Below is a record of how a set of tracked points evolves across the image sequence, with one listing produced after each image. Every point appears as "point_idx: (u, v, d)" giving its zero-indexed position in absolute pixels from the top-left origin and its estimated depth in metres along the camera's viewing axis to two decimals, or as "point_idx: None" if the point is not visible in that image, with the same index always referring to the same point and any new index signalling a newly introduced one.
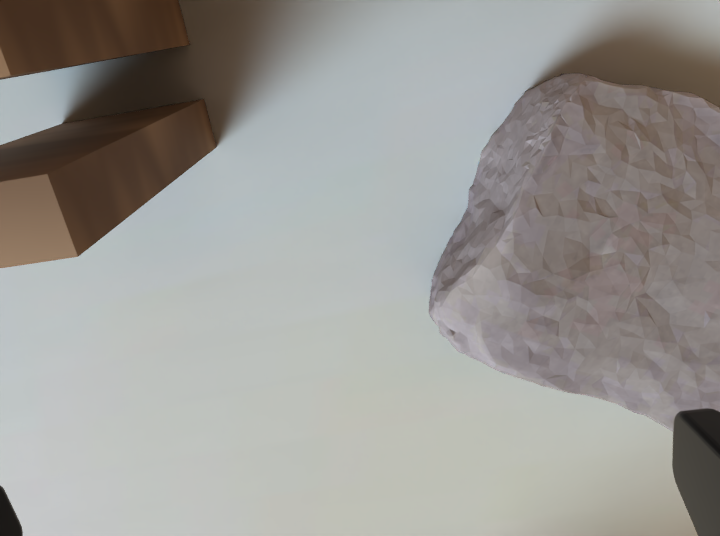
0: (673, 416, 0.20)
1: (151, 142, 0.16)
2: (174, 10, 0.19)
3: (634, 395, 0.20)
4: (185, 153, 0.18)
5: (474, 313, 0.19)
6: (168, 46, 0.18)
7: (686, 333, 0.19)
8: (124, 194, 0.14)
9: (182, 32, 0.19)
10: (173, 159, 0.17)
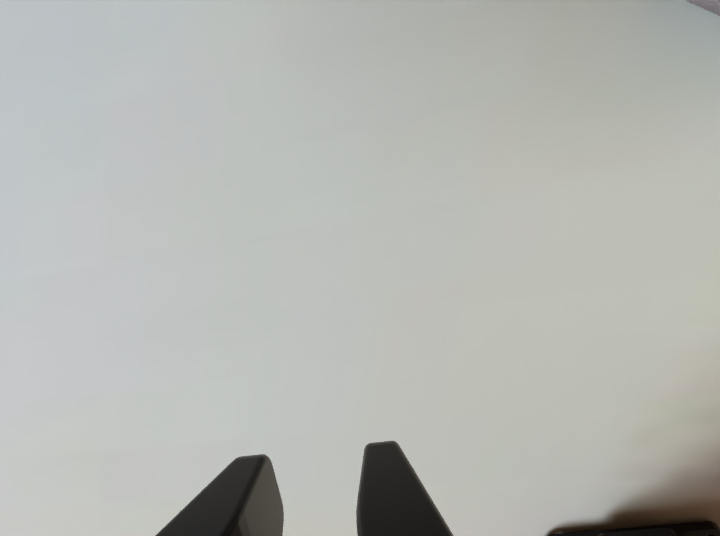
0: None
1: None
2: None
3: None
4: None
5: None
6: None
7: None
8: None
9: None
10: None
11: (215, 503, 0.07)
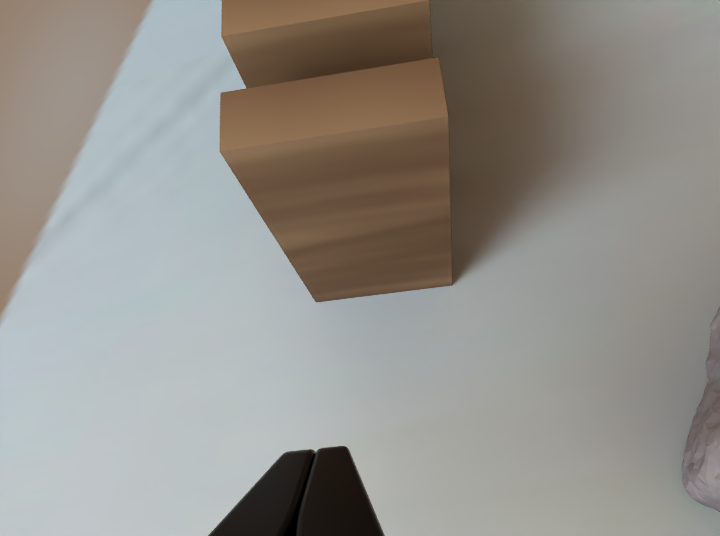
0: None
1: None
2: None
3: None
4: None
5: None
6: None
7: None
8: None
9: None
10: None
11: (270, 498, 0.07)
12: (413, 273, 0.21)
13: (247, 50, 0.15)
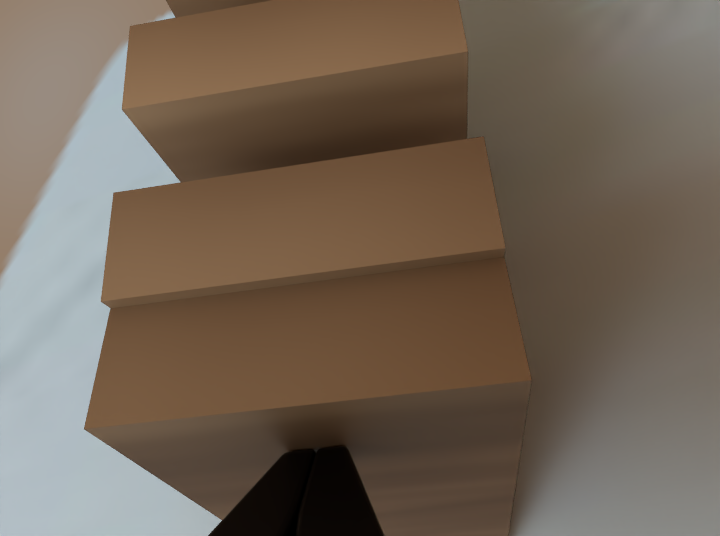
0: None
1: None
2: None
3: None
4: None
5: None
6: None
7: None
8: None
9: None
10: None
11: (270, 498, 0.07)
12: None
13: None
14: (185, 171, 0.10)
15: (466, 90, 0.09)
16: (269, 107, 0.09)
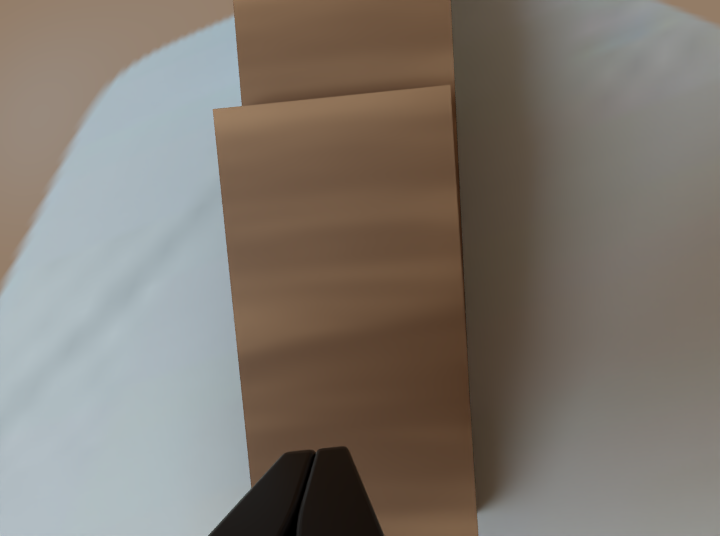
0: None
1: None
2: None
3: None
4: None
5: None
6: None
7: None
8: None
9: None
10: None
11: (270, 498, 0.07)
12: (415, 483, 0.13)
13: (252, 5, 0.14)
14: None
15: None
16: None
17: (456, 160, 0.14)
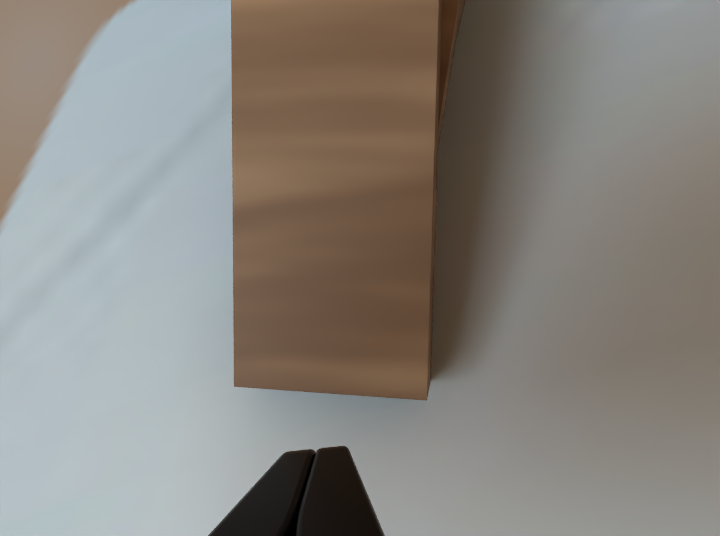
0: None
1: (435, 190, 0.16)
2: None
3: None
4: (431, 277, 0.15)
5: None
6: None
7: None
8: (436, 95, 0.15)
9: None
10: (432, 235, 0.15)
11: (270, 498, 0.07)
12: (376, 334, 0.15)
13: None
14: None
15: None
16: None
17: (447, 58, 0.16)
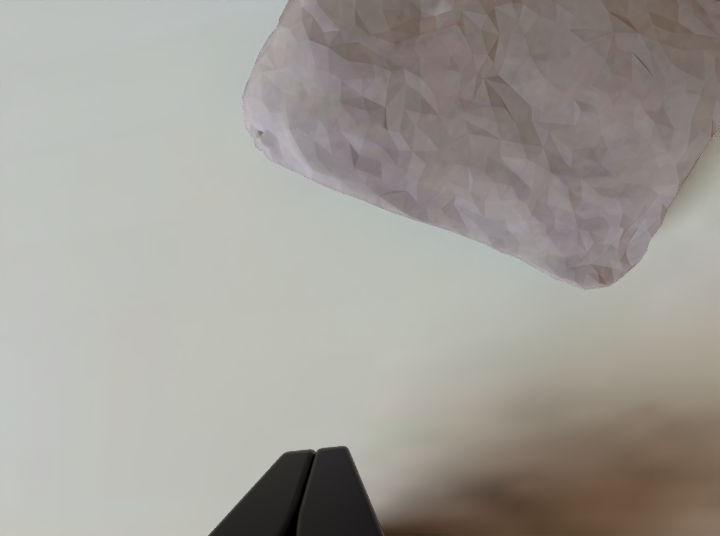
0: (547, 253, 0.16)
1: None
2: None
3: (498, 226, 0.16)
4: None
5: (278, 97, 0.15)
6: None
7: (553, 132, 0.15)
8: None
9: None
10: None
11: (270, 498, 0.07)
12: None
13: None
14: None
15: None
16: None
17: None
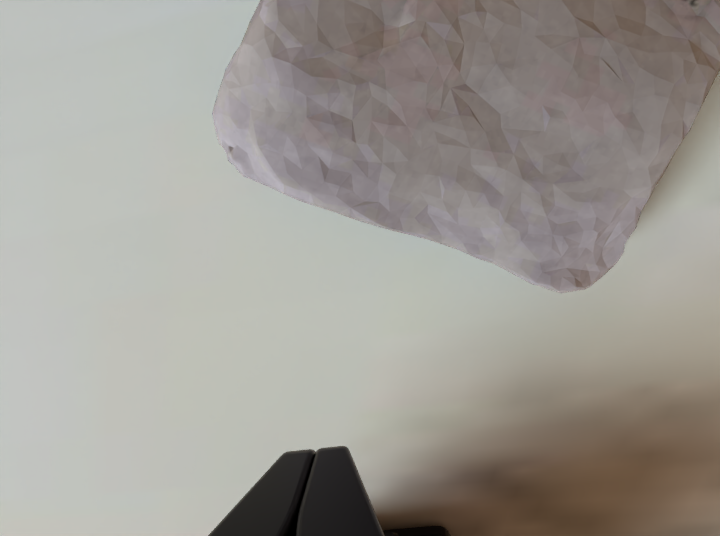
0: (522, 259, 0.16)
1: None
2: None
3: (472, 233, 0.16)
4: None
5: (246, 114, 0.15)
6: None
7: (523, 139, 0.15)
8: None
9: None
10: None
11: (270, 498, 0.07)
12: None
13: None
14: None
15: None
16: None
17: None
